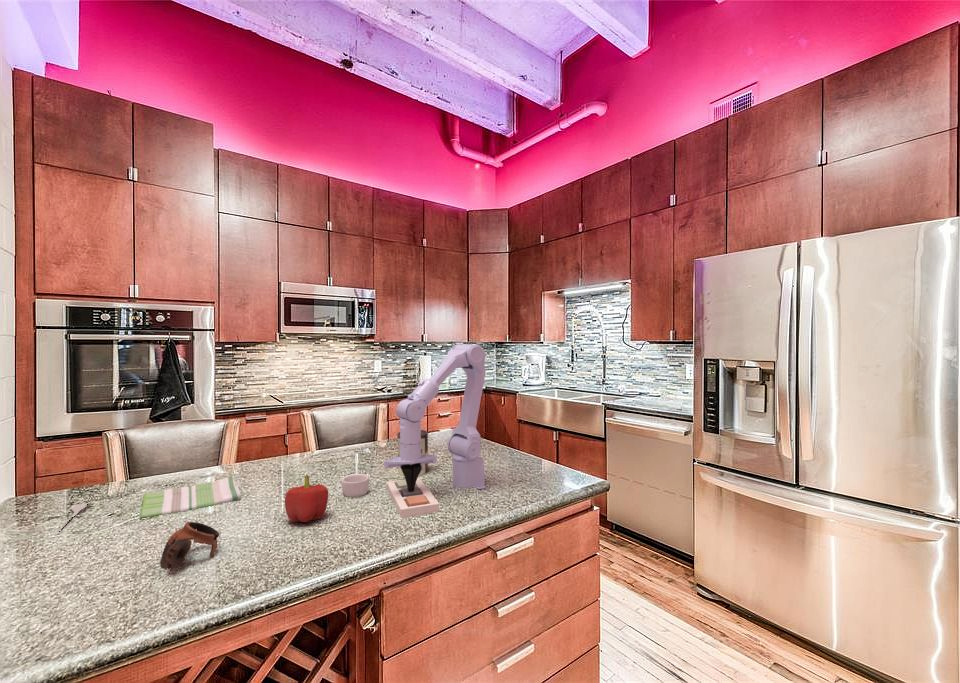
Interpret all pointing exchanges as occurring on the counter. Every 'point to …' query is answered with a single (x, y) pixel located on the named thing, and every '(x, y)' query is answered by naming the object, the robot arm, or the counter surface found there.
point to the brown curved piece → (187, 542)
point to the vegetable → (306, 502)
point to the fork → (79, 508)
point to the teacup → (355, 485)
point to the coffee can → (423, 451)
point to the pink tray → (401, 501)
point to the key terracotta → (416, 500)
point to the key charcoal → (406, 493)
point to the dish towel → (190, 497)
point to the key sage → (401, 484)
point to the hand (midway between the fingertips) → (410, 490)
